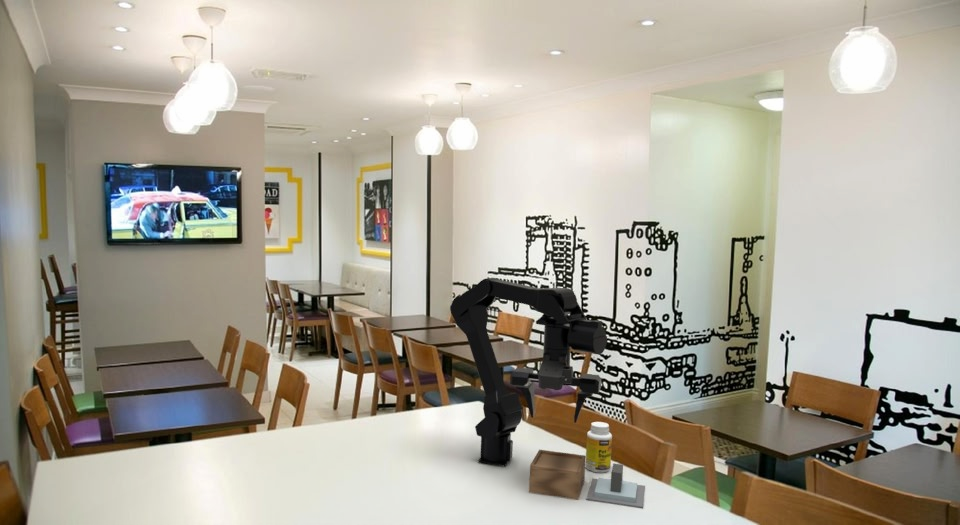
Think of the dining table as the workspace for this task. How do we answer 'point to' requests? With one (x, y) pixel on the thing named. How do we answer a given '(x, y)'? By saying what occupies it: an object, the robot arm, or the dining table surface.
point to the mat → (638, 502)
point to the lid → (616, 486)
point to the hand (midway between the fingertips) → (553, 419)
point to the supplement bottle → (598, 448)
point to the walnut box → (557, 474)
